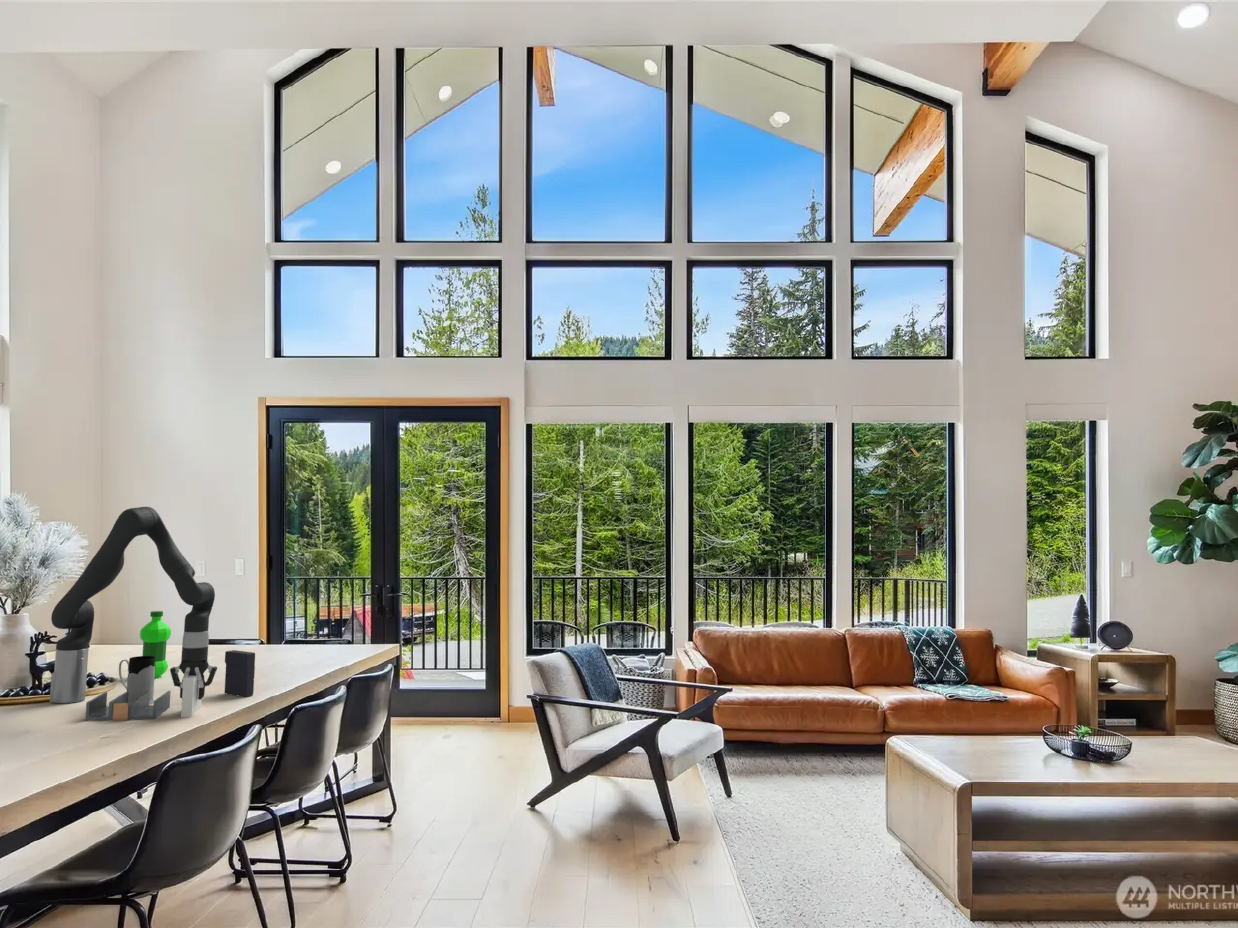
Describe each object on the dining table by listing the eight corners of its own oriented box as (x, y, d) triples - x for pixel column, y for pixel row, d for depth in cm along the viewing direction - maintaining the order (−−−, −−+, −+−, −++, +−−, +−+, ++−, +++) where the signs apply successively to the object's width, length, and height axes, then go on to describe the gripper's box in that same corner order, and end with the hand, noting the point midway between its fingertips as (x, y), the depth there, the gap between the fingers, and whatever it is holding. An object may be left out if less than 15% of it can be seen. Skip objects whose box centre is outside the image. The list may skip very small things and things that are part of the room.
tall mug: (137, 707, 272) (141, 660, 273) (105, 702, 276) (108, 657, 277) (160, 701, 280) (163, 656, 281) (128, 697, 284) (131, 653, 285)
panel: (181, 717, 260) (183, 678, 261) (191, 708, 272) (193, 671, 272) (191, 716, 261) (193, 678, 261) (201, 708, 272) (203, 671, 273)
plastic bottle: (164, 673, 328) (168, 609, 330) (170, 677, 320) (174, 612, 322) (135, 675, 322) (139, 610, 324) (140, 680, 314) (144, 613, 315)
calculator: (255, 695, 294) (257, 652, 295) (244, 697, 290) (247, 653, 291) (232, 691, 298) (235, 649, 299) (222, 693, 294) (225, 651, 295)
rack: (84, 721, 252) (85, 702, 252) (103, 709, 267) (104, 692, 267) (155, 719, 256) (156, 701, 257) (169, 707, 271) (170, 690, 272)
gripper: (167, 647, 262) (164, 702, 261) (216, 646, 266) (213, 701, 264) (174, 643, 270) (171, 697, 268) (221, 643, 273) (218, 696, 272)
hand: (192, 698), depth 266 cm, fingers open, 4 cm apart
